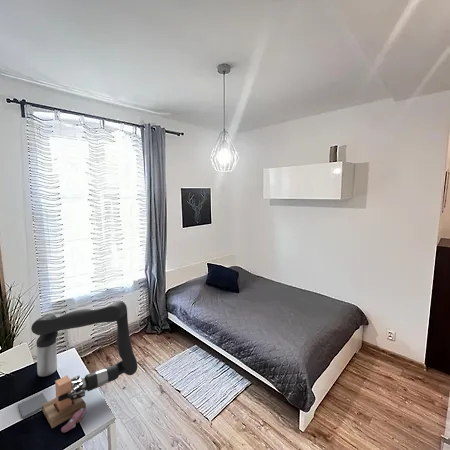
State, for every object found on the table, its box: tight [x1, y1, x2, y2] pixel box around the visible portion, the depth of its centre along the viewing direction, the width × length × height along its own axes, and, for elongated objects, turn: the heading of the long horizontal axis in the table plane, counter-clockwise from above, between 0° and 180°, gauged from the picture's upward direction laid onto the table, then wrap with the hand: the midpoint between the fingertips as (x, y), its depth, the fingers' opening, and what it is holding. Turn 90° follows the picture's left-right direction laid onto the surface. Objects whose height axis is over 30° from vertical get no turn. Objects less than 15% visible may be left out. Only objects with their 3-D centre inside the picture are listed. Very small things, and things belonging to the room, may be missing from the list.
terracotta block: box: [54, 375, 72, 413], centre depth 120 cm, size 5×5×15 cm
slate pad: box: [17, 392, 49, 419], centre depth 122 cm, size 10×10×1 cm
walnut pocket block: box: [41, 389, 87, 429], centre depth 120 cm, size 14×14×3 cm
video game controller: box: [60, 408, 87, 433], centre depth 113 cm, size 10×5×7 cm, turn 169°
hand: (57, 394), depth 118 cm, fingers closed on terracotta block, 5 cm apart
